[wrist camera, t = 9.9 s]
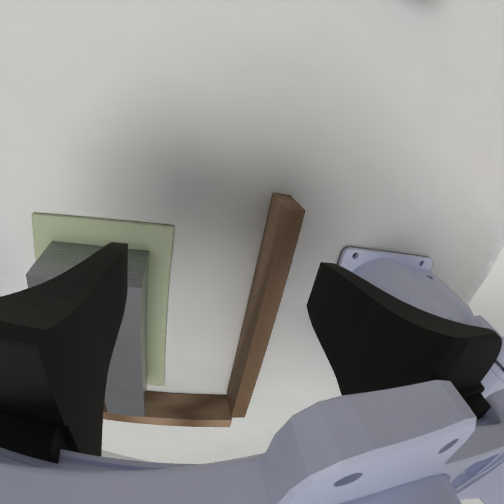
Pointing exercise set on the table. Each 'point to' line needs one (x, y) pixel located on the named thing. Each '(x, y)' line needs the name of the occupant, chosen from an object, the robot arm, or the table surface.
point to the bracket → (131, 330)
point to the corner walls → (252, 334)
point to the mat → (137, 237)
